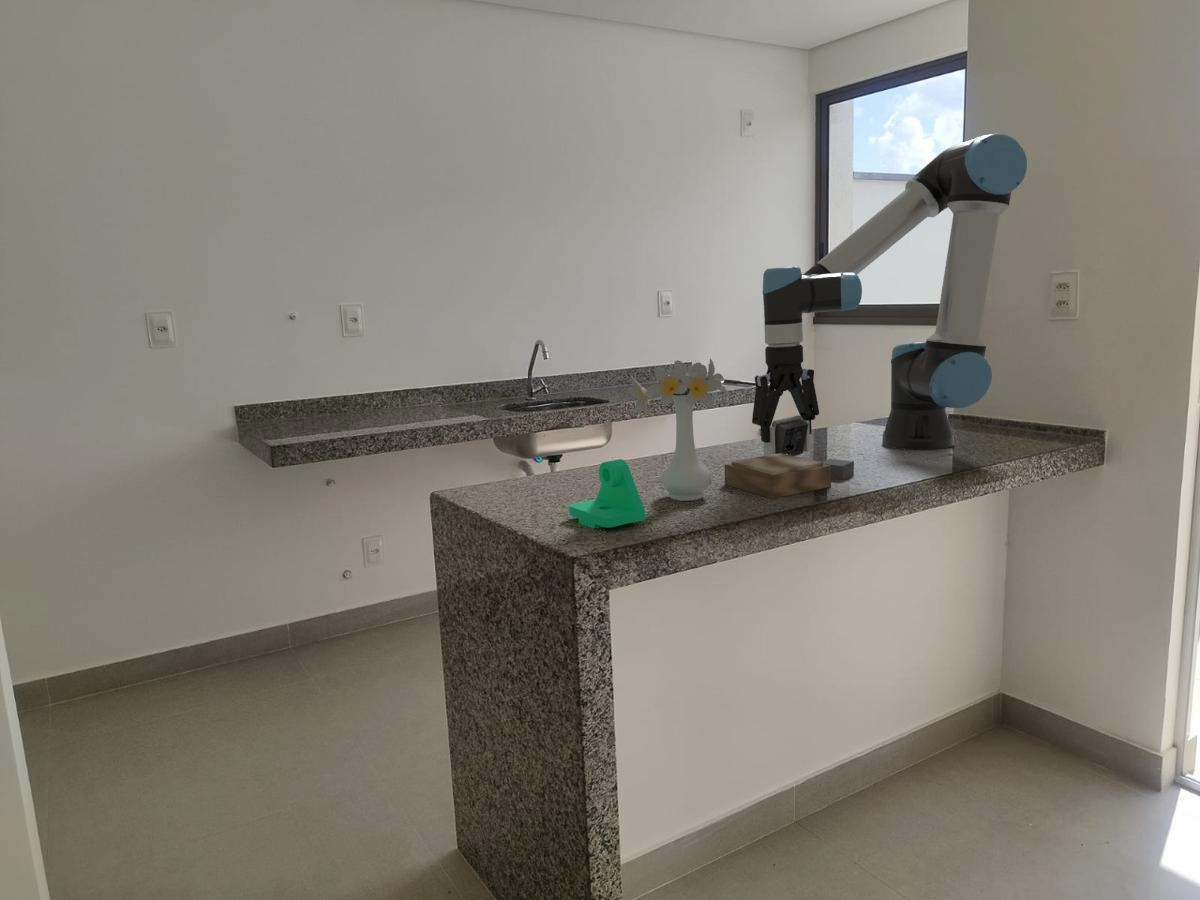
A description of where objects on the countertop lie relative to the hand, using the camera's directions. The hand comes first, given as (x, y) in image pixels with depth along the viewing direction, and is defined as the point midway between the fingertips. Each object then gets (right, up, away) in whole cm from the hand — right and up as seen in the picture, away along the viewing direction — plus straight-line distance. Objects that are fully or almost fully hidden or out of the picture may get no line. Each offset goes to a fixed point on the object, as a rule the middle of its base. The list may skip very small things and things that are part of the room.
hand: (787, 453), depth 179 cm
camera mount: (-38, -12, -35) cm, 53 cm away
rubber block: (+7, -5, -10) cm, 13 cm away
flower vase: (-23, -8, -22) cm, 33 cm away
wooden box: (-5, -6, -15) cm, 17 cm away
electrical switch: (0, -1, 0) cm, 1 cm away
